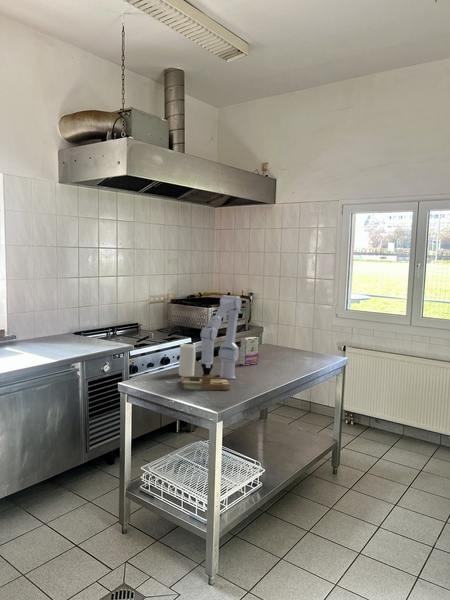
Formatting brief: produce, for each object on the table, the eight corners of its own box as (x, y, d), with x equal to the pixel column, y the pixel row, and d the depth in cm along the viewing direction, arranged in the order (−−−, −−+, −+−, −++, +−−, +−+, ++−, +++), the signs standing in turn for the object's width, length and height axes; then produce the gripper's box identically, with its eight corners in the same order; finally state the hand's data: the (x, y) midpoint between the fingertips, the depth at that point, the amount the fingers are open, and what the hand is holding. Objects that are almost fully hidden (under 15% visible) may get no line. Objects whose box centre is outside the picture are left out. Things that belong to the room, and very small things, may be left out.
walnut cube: (201, 382, 218) (202, 374, 218) (210, 382, 218) (210, 374, 218) (202, 384, 214) (202, 376, 214) (210, 384, 214) (210, 376, 214)
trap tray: (181, 381, 224) (181, 376, 224) (226, 382, 227) (226, 377, 227) (181, 389, 211) (182, 383, 211) (229, 390, 214) (229, 384, 214)
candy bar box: (252, 362, 277) (253, 336, 275) (257, 364, 273) (259, 337, 271) (239, 364, 269) (240, 337, 268) (244, 366, 266) (246, 339, 264)
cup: (196, 374, 240) (198, 345, 239) (188, 377, 233) (189, 347, 232) (184, 371, 244) (186, 343, 243) (175, 374, 237) (177, 345, 236)
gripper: (198, 348, 225) (197, 374, 226) (200, 354, 210) (199, 382, 212) (212, 348, 226) (211, 375, 227) (215, 355, 211) (213, 382, 212)
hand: (206, 378), depth 219 cm, fingers closed
